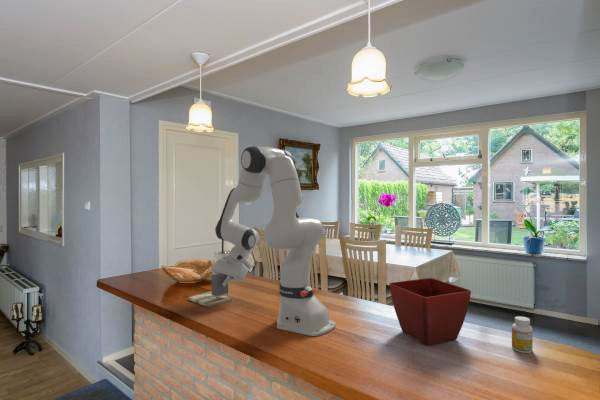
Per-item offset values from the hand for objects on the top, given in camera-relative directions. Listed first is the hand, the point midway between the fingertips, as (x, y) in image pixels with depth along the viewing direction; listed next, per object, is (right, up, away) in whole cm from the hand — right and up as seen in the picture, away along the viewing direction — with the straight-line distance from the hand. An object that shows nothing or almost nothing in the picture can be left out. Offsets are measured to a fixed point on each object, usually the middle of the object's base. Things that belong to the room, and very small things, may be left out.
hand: (218, 284), depth 157 cm
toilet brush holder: (-6, -7, +39) cm, 40 cm away
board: (-4, -8, +2) cm, 9 cm away
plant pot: (+80, -9, -38) cm, 88 cm away
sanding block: (0, -5, +1) cm, 5 cm away
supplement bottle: (+105, -9, -49) cm, 116 cm away
